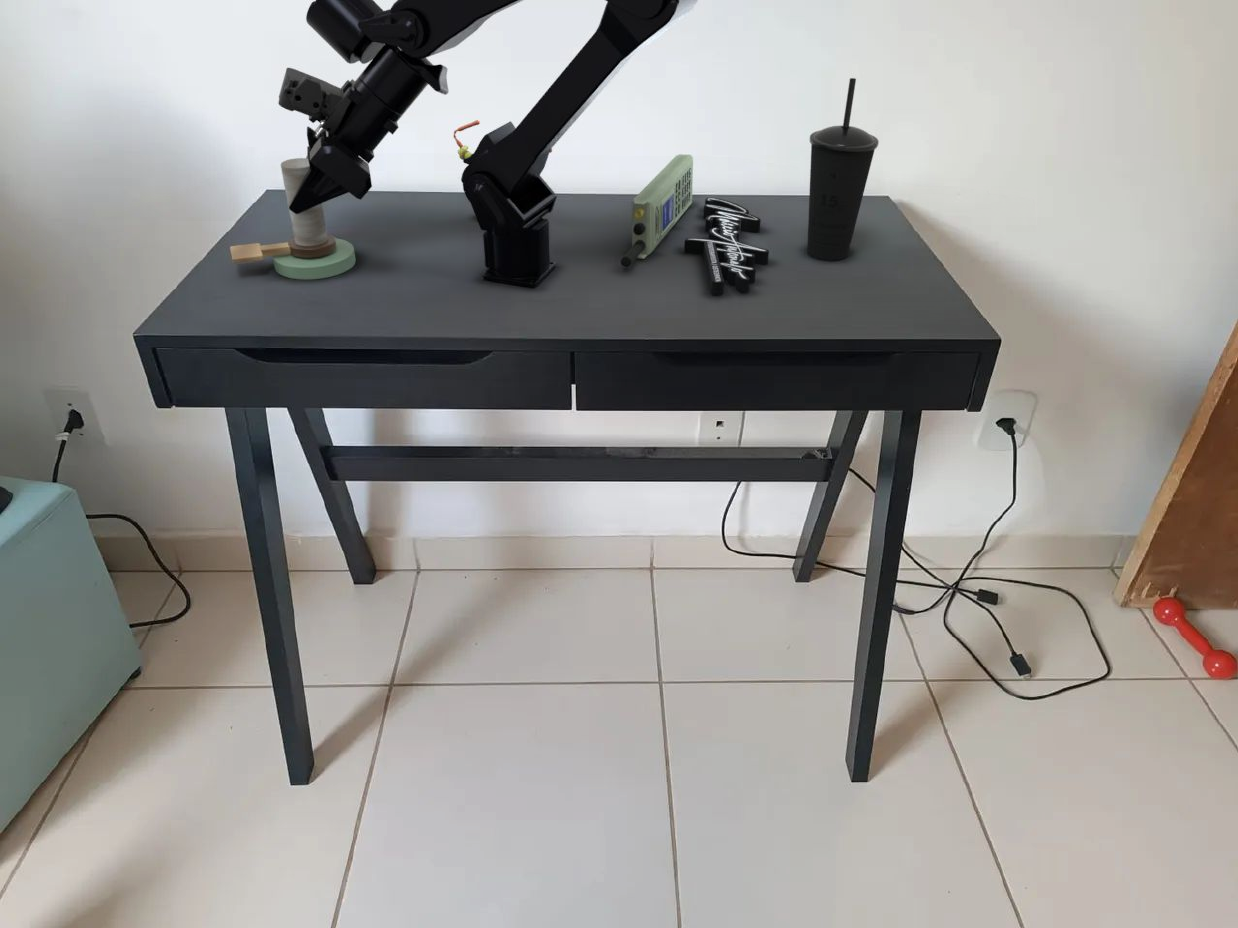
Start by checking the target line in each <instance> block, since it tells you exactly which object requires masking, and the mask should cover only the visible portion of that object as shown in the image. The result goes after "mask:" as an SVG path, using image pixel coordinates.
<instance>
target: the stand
mask: <svg viewBox="0 0 1238 928" xmlns="http://www.w3.org/2000/svg"><path fill="white" fill-rule="evenodd" d="M334 238H335V241H336V249H335V250H334V251H333V252H332V253H330V254H327V255H324V256H320V257H311V258H305V257H297V256H294V255H292V254H291V253H288V254H280V255H272V261H273V266H274V270H275V272H276V273H277V274H278V275H280V276H283V277H285V278H289V279H292V280H293V279H294V280H302V281H303V280H304V281H305V280H307V281H309V280H321V279H326V278H327V279H328V278H331V277H335V276H338V275H341V274H344V273H346V272H347V271H349V270H351V269H352V268H353V267H354V266H355V264H356V254H355V247H354V245H353V244H352V243H351V242H349V241H348V240H345V239H341V238H338V237H337V238H336V237H334Z"/></svg>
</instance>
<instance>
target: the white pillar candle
mask: <svg viewBox="0 0 1238 928" xmlns="http://www.w3.org/2000/svg"><path fill="white" fill-rule="evenodd" d="M280 168H281V175H282V180H283V186H284V191H285V196H286V202H287V207H288V212H289V218H290V223H291V229H292V233H293V237H290V238H289V240H288V241H287V242H286V241H285V242H279V243H271V244H262V245H261V243H260V242H256V243H247V244H238V245H231V246H230V248H229V249H230V254H231V260H232V263H233V264H240V263H249V262H256V261H263V260H264V257H271V256H272V255H280V254H288V253H291V254H292V255H294V256H297V257H305V258H311V257H320V256H324V255H327V254H330V253H332V252H333V251H334V250H335V249H336V241H335V238H336V237H335V236H333V234H330V233H328V232H327V231H328V230H327V226H326V220H325V219H326V218H325V213H324V208H323V203H321V204H319V205H317V206H315V207H312V208H310V209H308V210H306V211H303V212H301V213H299V214H295V213H294V212H292V211H291V210H290V209H289V205H290V203H291V201H292V199H293V197H294V196H295V194H296V192H297V190H298V188H299V186H300V184H301V183H302V181H303V179H304V177H305V175H306V173H307V172H308V170H309V168H310V166H309V161H308V159H307V158H306V157H296V158H289V159H286V160H284V161H282V162H281V163H280Z"/></svg>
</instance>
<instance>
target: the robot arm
mask: <svg viewBox="0 0 1238 928" xmlns="http://www.w3.org/2000/svg"><path fill="white" fill-rule="evenodd" d="M523 1H524V0H396V1H395V2H393V4H392V5H391V8H389V9H385V10H383V8H382V7H381V6H380V5H378V3H377V2H376V1H375V0H314V1H312V2H311V3H310V5H309V7H308V9H307V12H306V15H305V16H306V17H305V21H306V24H307V25H308V26H310V28H311V29H312V30H314V31H315V32H316V33H317V34H318V35H319V37H320V38H322V39H323V40H324V41H325V42H326V43H327V44H328V45H329V46H330V47H331V48H332V49H333V50H334V52H336V53H337V54H338V55H339V56H340V57H341V58H342V59H343V60H344V61H345V62H346V63H347V64H350V65H351V64H353V65H354V64H356V63H358V62H360V63H361V64H362V65H366V64H368V63H369V64H368V65H366V67H365V68H364V69H363V71H362V72H361V73H360V75H359V76H358V77H357V78H356V79H355V80H354V79H353V78H352V79H351V80H349V79H347V80H346V81H345V82H344V83H343V85H342V86H341V87H338V86H336V85H334V84H331V83H329V82H328V81H326V80H323V79H320V78H318V77H315V76H313V75H310V74H308V73H305V72H303V71H300V70H299V69H296V68H292V67H286V69H285V73H284V76H283V80H282V84H281V88H280V91H279V95H278V102H277V103H278V106H280V107H281V108H283V109H285V110H287V111H289V112H294V111H295V112H298V113H301V114H303V115H306V116H308V120H309V121H310V122H311V123H312V124H315V123H316V122H317V123H319V125H317V127H316V129H313V128H312V127H310V126H307V127H306V137H307V143H308V145H307V147H306V154H307V155H306V157H305V158H307V159H308V161H309V166H310V168H309V170H308V172H307V173H306V175H305V177H304V179H303V181H302V183H301V184H300V186H299V188H298V190H297V192H296V194H295V196H294V197H293V199H292V201H291V203H290V205H289V207H288V210H289V209H290V210H291V211H292V212H294V213H295V214H299V213H301V212H303V211H306V210H308V209H310V208H312V207H315V206H317V205H319V204H321V203H322V204H324V203H326V202H328V201H331V200H333V199H335V198H338V197H340V196H343V195H346V194H348V193H349V194H350V195H352V196H353V197H355V198H356V199H358V200H362V199H363V198H364V197H365V196H366V194H367V193H368V192H369V191H370V190H371V189H372V187H373V184H372V178H371V170H370V166H369V164H370V162H372V161H373V159H374V158H375V152H374V151H375V149H376V148H378V146H379V145H380V144H381V142H382V141H383V139H384V138H385V137H386V136H387V135H388V134H391V135H392V136H393V135H394V134H395V133H396V131H397V130H398V129H399V124H398V122H399V120H400V119H401V118H402V117H403V115H404V114H405V113H406V112H407V111H408V110H409V109H410V107H411V106H412V105H413V104H414V102H415V101H416V100H417V98H419V96H420V95H421V93H423V91H425V89H426V88H427V86H428V85H429V86H430V87H431V89H433V90H434V92H437V93H440V94H442V95H448V94H449V86H448V78H447V76H448V75H447V74H448V67H446V66H445V65H443V64H440V63H439V64H433V63H432V62H431V61H430V60H429V59H428V58H429V57H432V56H435V55H437V54H440V53H443V52H445V51H448V50H450V49H453V48H456V47H458V46H459V45H460V44H461V43H463V42H464V41H465V40H466V39H468V38H469V37H470V36H471V35H473V34H474V33H476V32H477V31H478V30H479V29H480V28H481V26H483V24H484V23H485V22H487V20H489V19H490V18H491V17H493V16H494V15H496V14H498V13H500V12H502V11H505V10H506V9H508V8H510V7H512V6H515V5H517V4H519V3H521V2H523ZM605 1H606V4H605V7H604V10H603V13H602V15H601V18H600V22H599V24H598V26H597V28H596V30H595V32H594V33H593V35H591V37H590V38H589V39H588V41H586V43H585V44H584V45H583V46H582V48H581V49H580V50H579V51H578V52H577V53H576V55H575V56H574V57H573V59H572V60H571V61H570V62H569V63H568V65H567V66H566V67H565V68H564V69H563V71H562V72H561V73H560V74H559V76H557V78H556V79H555V81H553V83H551V85H550V86H549V88H547V90H546V91H545V93H543V95H542V96H541V97H540V99H538V101H537V102H536V103H535V105H534V106H533V107H532V108H531V109H530V110H529V112H528V113H527V114H526V115H525V116H524V118H523V119H522V120H521V121H520V123H518V125H517V126H515V124H514V123H513V122H512V121H508V122H507V123H504V124H502V125H501V126H499V127H497V128H496V129H493V130H491V131H490V132H487V133H486V134H485V135H484V136H483V137H482V138H481V140H480V141H479V143H478V145H477V147H476V149H475V151H473V153H472V155H471V156H469V157H468V158H466V159H464V160H462V162H463V163H464V164H466V165H467V166H466V167H465V168H464V169H463V172H462V173H461V178H460V181H461V183H462V189H463V192H464V194H465V197H466V199H467V200H468V202H469V203H470V205H471V208H472V210H473V213H474V216H475V218H476V221H477V224H478V226H479V228H480V230H481V231H483V233H482V242H483V256H484V266H485V268H486V270H485V271H484V272H483V273H482V279H483V280H487V281H493V282H499V283H505V284H511V285H519V286H524V287H530V288H534V287H537V286H538V285H539V284H540V283H541V282H542V281H544V279H545V278H546V277H547V276H548V275H549V274H550V273H551V272H552V271H553V270H554V269H555V268H556V266H557V264H556V261H551V257H550V256H551V255H550V254H551V253H550V219H549V218H544V217H545V216H546V215H548V214H550V213H551V212H553V209H554V206H555V204H556V200H557V198H558V196H557V194H556V192H554V190H553V189H552V188H551V186H549V184H548V183H547V182H546V181H545V180H544V178H543V177H542V176H541V174H542V173H543V171H544V169H545V167H546V164H547V161H548V158H549V155H550V153H549V152H550V150H551V149H552V150H553V147H554V146H555V145H556V144H557V143H558V142H559V141H560V139H561V138H562V137H563V136H564V135H565V134H566V132H568V130H569V129H570V128H571V127H572V126H573V125H574V123H575V122H576V121H577V120H578V119H579V118H580V116H581V115H582V114H583V113H584V112H585V111H586V110H587V109H588V108H589V107H590V105H591V104H592V103H593V102H594V101H595V100H596V99H597V97H598V96H599V95H600V94H601V93H602V91H603V90H604V89H605V88H606V87H607V86H608V85H609V83H610V82H612V80H613V79H614V78H615V77H616V76H617V75H618V74H619V73H620V71H621V70H622V69H623V68H624V67H625V65H626V64H627V63H628V62H629V61H630V60H631V59H632V58H633V56H635V55H636V54H637V53H638V52H639V51H640V50H642V49H644V48H645V47H646V46H648V45H649V44H651V43H652V42H653V41H654V40H656V39H657V38H659V37H660V36H661V35H663V34H664V33H666V32H667V30H668V31H669V29H671V28H672V27H673V26H674V25H676V24H677V23H678V22H680V21H681V20H682V19H683V18H685V17H687V16H688V15H689V14H690V13H691V11H693V10H694V8H695V7H696V5H697V4H698V2H699V0H605Z"/></svg>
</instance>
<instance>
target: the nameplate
mask: <svg viewBox="0 0 1238 928" xmlns="http://www.w3.org/2000/svg"><path fill="white" fill-rule="evenodd" d="M702 216H703V218H705V222H704V223H705V225H704V232H705V233H706V232H707V233H708V238H702V237H687V238H685V239H684V247H683V252H684V253H686V254H698V255H700V254H701V255H703V260H704V261H703V262H704V266H705V271H706V276H707V281H708V286H709V291H710V294H711V295H712V296H714V297H715V296H716V297H720V296H722V295H723V293H724V282H725V281H726V283H727V284H728V285H730V286H734V288H735V289H736V290H737V291H738V292H740V293H742V294H747V293H749V287H750V284H754V283H755V281H756V272H757V268H755V264H757V265H764V266H765V265H767V264H768V262H769V254H770V250H769V249H766V248H763V247H759V246H755V245H753V244H752V245H751V244H748V243H744V242H741V241H740V237H741V231H744V232H749V233H760V230H761V221H762V219H761V218H760V217H758V216H756V215H753V214H751V213H750V211H749V209H747V208H745V207H744V206H742V205H740V204H737V203H734V202H733V201H729V200H725V199H723V198H717V197H706V198H705V199H704V205H703V215H702Z"/></svg>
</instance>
